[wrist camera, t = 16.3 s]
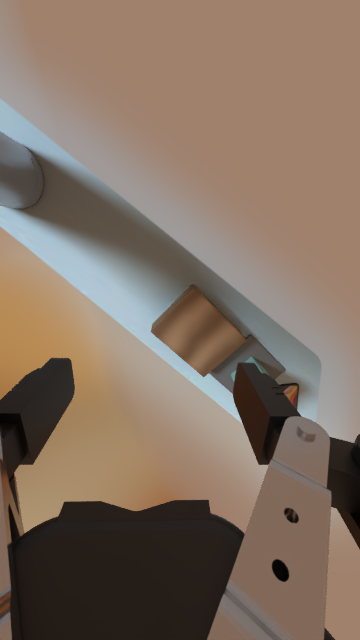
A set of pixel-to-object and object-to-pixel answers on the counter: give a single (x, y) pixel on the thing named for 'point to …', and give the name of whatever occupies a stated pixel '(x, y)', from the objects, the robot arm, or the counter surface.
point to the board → (197, 331)
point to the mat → (242, 355)
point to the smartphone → (291, 392)
